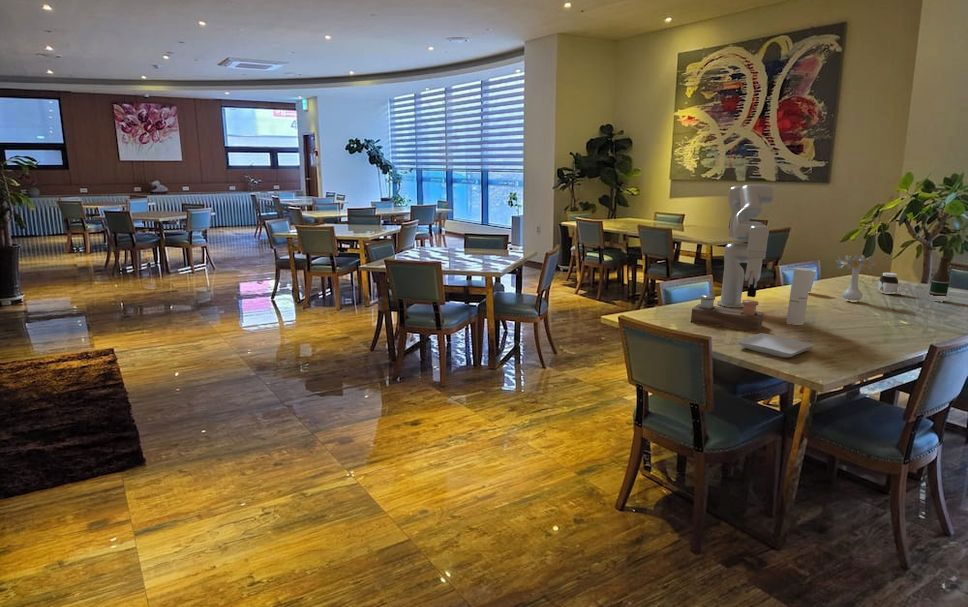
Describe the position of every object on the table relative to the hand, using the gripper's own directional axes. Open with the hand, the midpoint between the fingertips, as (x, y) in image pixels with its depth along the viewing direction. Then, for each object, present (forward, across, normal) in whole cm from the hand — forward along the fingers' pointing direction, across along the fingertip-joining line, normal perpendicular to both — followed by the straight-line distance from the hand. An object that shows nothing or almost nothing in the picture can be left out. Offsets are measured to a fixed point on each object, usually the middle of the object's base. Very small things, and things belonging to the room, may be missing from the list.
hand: (751, 296), depth 268 cm
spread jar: (+12, -130, +55) cm, 141 cm away
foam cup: (+13, -102, +13) cm, 104 cm away
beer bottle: (+13, -123, +76) cm, 145 cm away
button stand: (+14, 0, -9) cm, 16 cm away
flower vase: (+13, -92, +36) cm, 99 cm away
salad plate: (+15, +30, +15) cm, 37 cm away
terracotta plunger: (+8, 0, 0) cm, 8 cm away
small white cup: (+8, 0, -18) cm, 20 cm away
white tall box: (+14, -20, +17) cm, 29 cm away
